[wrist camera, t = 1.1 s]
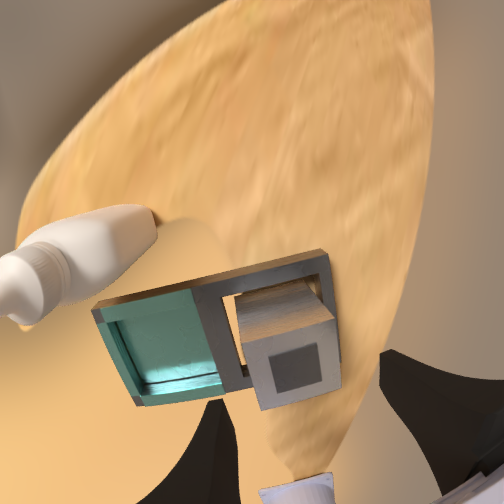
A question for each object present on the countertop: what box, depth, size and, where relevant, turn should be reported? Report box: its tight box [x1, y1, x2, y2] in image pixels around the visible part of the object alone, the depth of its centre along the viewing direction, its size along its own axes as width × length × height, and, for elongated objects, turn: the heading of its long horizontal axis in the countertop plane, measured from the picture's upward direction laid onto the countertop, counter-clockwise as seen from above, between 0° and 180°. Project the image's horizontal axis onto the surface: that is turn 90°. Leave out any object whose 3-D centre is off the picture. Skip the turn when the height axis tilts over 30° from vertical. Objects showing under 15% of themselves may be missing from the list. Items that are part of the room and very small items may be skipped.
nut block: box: [234, 280, 342, 411], centre depth 17 cm, size 4×4×6 cm
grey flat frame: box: [91, 249, 341, 407], centre depth 19 cm, size 8×15×2 cm, turn 103°
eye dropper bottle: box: [0, 204, 157, 326], centre depth 12 cm, size 4×6×12 cm
